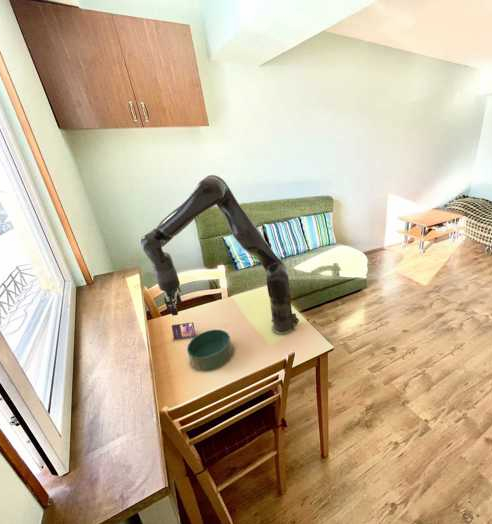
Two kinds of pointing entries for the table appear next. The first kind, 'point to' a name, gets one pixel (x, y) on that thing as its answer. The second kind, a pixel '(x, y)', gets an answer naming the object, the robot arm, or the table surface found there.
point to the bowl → (210, 350)
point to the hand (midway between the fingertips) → (177, 309)
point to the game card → (187, 329)
